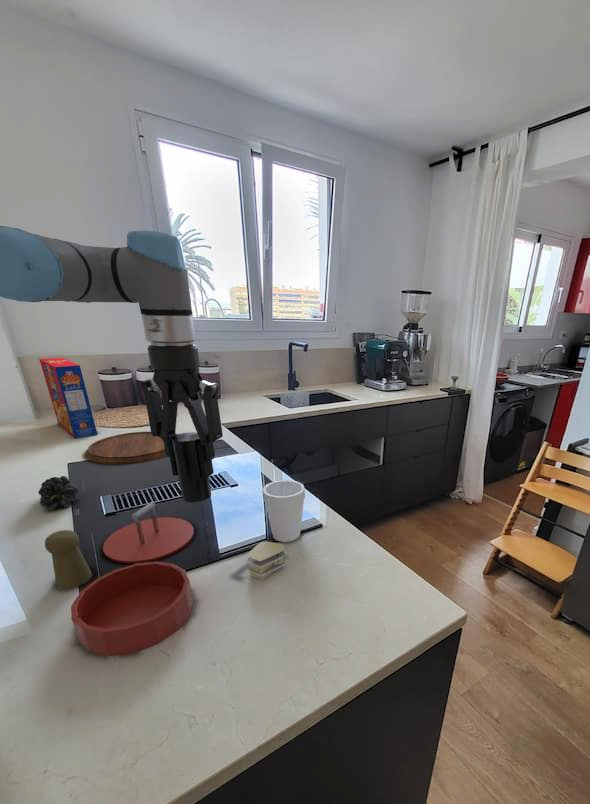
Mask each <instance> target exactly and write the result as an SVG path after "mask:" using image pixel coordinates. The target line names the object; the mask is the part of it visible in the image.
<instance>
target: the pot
mask: <svg viewBox="0 0 590 804" xmlns="http://www.w3.org/2000/svg"><path fill="white" fill-rule="evenodd" d="M193 605H194V596H193V592H192V585H191V581H190V578H189V576H188V574H187V572H186V570H185V569H183V568H181V567H180V566H178V565H176V564H175V563H170V562H162V561H149V562H143V563H133V564H131V565H127V566H123V567H120V568H116V569H115V570H112V571H110V572H108V573H106V574H104V575H102V576H100V577H98V578H96V579H95V580H93V581H91V583H89V584H88V585H87V586H86V587H84V588H83V589H82V590H81V591H80V592H79V593H78V594H77V596H76V598H75V599H74V601H73V602H72V604H71V605H70V610H71V611H70V613H71V614H70V615H71V617H70V620H71V622H72V625H73V628H74V630H75V633H76V636H77V639H78V642H79V643H80V644H81V645H82V646H83V647H84V648H85V649H86V650H87V651H89V652H90V653H92V654H97V655H100V656H106V657H107V656H109V657H114V656H123V655H130V654H135V653H138V652H140V651H143V650H146V649H149V648H151V647H154V646H156V645H158V644H160V643H161V642H163V641H165V640H166V639H168V638H169V637H171V636H172V635H173V634H175V633H176V632H177V631H179V630H180V628H181V627H183V625H184V624H185V623H186V621H187V620H188V618H189V617H191V613H192V610H193Z"/></svg>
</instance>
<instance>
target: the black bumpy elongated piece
mask: <svg viewBox="0 0 590 804" xmlns="http://www.w3.org/2000/svg"><path fill="white" fill-rule="evenodd" d="M40 485H41V487H40V488H39V490H38V492H37V493H38V495H39V496H40V498H39V500H40V501H39V505H40V506H41V507H45V508H46V509H47V510H49V511H53V510H55V508H56V509H62V508H69V507H71V505H72V504H73V503H75V501H76V499H75V498H76V494H78V493H79V488H77V487H76V486H75V487H74V485H73V484H71V480H70V479H69V478H68V477H67V476H66V475H61V476H60V477H58V476H53V477H50V478H46V479H45V480H44V481H43V482H42V483H41V484H40Z"/></svg>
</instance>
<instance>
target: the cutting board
mask: <svg viewBox="0 0 590 804" xmlns="http://www.w3.org/2000/svg"><path fill="white" fill-rule="evenodd" d="M84 455H85V458H86V459H87V460H89V461H90V462H93V463H98V464H107V465H124V464H135V463H136V464H137V463H143V462H147V461H148V462H149V461H153V460H156V459H160V458H163V457H167V455H166V452H165V447H164V441H163V440H162V439H161V438H160V437H158V436H156V437H154V436H152V434H151V431H134V432H126V433H119V434H115V435H110V436H108V437H105V438H101V439H99V440H96V441H94V442H93V443H90V445H89V446H88V448H87V450H86V451H85V453H84Z"/></svg>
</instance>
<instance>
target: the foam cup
mask: <svg viewBox="0 0 590 804" xmlns="http://www.w3.org/2000/svg"><path fill="white" fill-rule="evenodd" d="M262 494H263V496H262V497H263V502H264V504H265V507H266V511H267V515H268V520H269V525H270V529H271V534H272V538H273V539H274V540H275V541H277V542H281V543H289V542H293V541H295V540H297V539H299V537H300V536H301V532H302V531H301V530H302V521H303V520H302V519H303V512H304V502H305V498H306V489H305V486H304V484H303V483H302V482H299V481H296V480H292V479H281V480H276V481H275V480H274V481H271V482H269V483H267V484H265V486H264V487H263V488H262Z"/></svg>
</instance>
